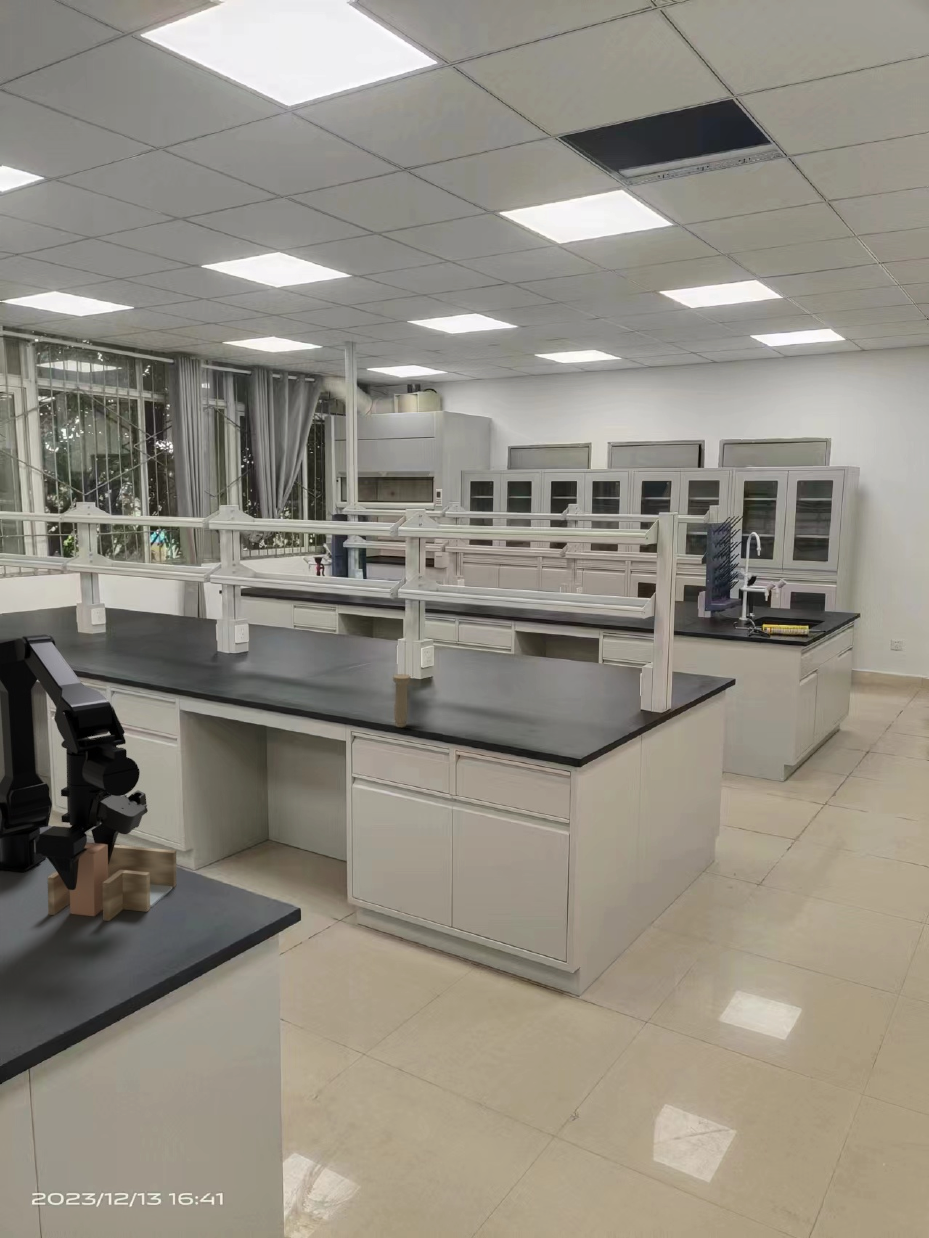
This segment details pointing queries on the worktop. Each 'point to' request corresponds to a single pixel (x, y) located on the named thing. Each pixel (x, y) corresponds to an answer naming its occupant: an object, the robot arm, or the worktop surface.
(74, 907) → the peg
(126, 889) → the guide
